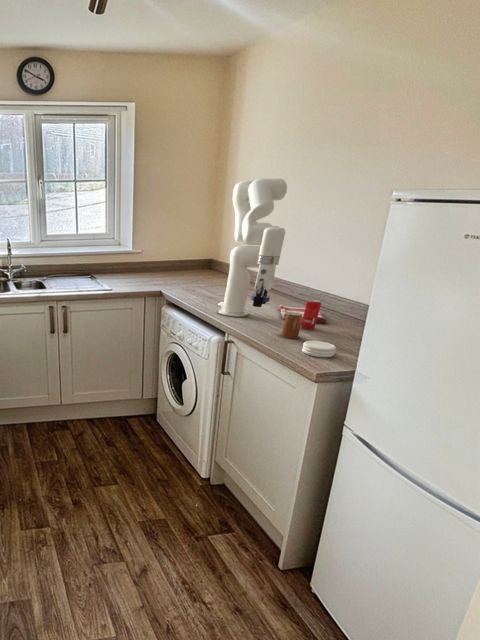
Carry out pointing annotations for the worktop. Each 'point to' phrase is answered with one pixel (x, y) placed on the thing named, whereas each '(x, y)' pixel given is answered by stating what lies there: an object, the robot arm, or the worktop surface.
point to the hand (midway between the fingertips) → (259, 304)
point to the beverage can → (311, 314)
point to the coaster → (318, 349)
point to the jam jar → (292, 325)
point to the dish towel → (287, 309)
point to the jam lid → (265, 298)
